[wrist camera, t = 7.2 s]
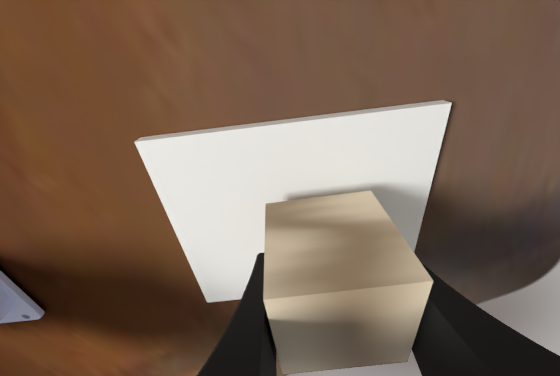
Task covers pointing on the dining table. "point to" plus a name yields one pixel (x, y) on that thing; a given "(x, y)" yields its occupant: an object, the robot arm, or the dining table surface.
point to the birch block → (340, 284)
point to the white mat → (288, 179)
